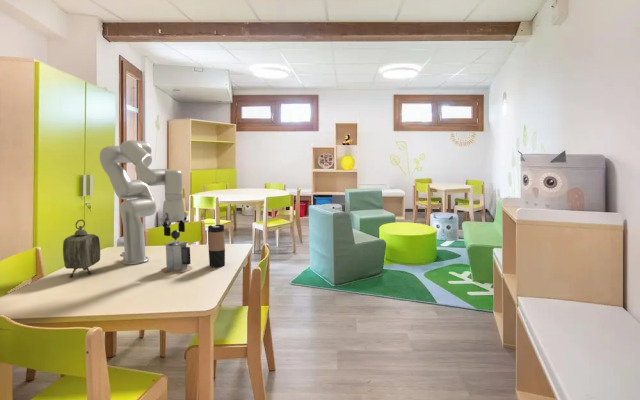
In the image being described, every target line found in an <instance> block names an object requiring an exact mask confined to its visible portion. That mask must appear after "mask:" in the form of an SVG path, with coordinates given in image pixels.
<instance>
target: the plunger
mask: <svg viewBox="0 0 640 400" xmlns="http://www.w3.org/2000/svg"><path fill="white" fill-rule="evenodd" d="M170 237H171V238H172V239H174V241H175V244H176V243H177V241H178V239H179V238H180V237H181V232H179V230H178V229H175V230H172V231H171V236H170Z"/></svg>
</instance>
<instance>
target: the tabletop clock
mask: <svg viewBox="0 0 640 400" xmlns="http://www.w3.org/2000/svg"><path fill="white" fill-rule="evenodd" d="M80 222H83V225H79V226H77V225H78V223H80ZM85 225H86V222H85V220H84V219H78V220H77V221H76V222H75V228H76V229H77V230H76V231H75V232H74V234H72V235H70V236H67V237H66V238H65V239H63V242H62V258H63V264H64V267H65V269H71V270H72V269H73V270H72V272H71V273H70V274H69V275H68V276H69V278H73V277H74V274H75V272H76V271H77V270H79V269H82V270H83V271H86V274H88V275H90V274H91V273H92V271H91V270H90V269H89V268H90V267H92V266H94V265H95V264H97V263H98V262H100V260H101V243H100V238H99V236H98V235H96V234H90V233H88V232H87V231H86V230H85V229H84V228H85Z"/></svg>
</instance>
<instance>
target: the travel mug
mask: <svg viewBox="0 0 640 400" xmlns="http://www.w3.org/2000/svg"><path fill="white" fill-rule="evenodd" d="M207 233H208V234H207V235H208V236H207V237H208V238H207V239H208V241H207V243H208V245H207V246H208V260H209V261H208V263H209V264H208V265H209V267H210V268H222V267H225V265H226V241H225V225H223V224H215V225H212V224H211V225H208V226H207Z"/></svg>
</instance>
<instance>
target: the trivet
mask: <svg viewBox="0 0 640 400" xmlns="http://www.w3.org/2000/svg"><path fill="white" fill-rule="evenodd" d="M192 270H193V266H191V265H187V269H186V270H184V271H179V272H169V271H167V266H166V267H163V268H161V270H160V272H161V273H163V274H168V275H169V274H170V275H171V274H173V275H175V274H182V273H187V272H191V271H192Z"/></svg>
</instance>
